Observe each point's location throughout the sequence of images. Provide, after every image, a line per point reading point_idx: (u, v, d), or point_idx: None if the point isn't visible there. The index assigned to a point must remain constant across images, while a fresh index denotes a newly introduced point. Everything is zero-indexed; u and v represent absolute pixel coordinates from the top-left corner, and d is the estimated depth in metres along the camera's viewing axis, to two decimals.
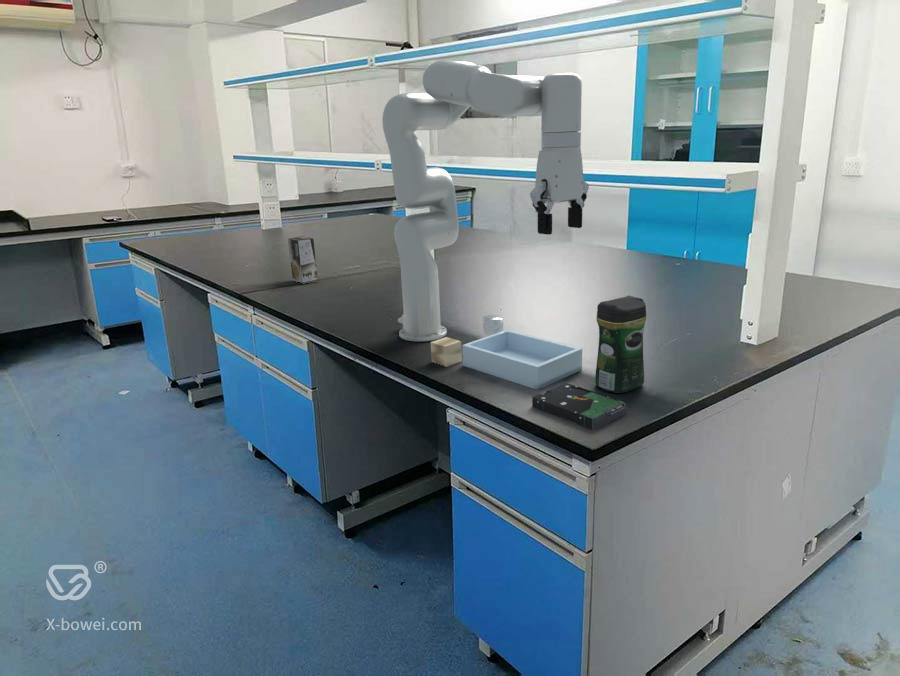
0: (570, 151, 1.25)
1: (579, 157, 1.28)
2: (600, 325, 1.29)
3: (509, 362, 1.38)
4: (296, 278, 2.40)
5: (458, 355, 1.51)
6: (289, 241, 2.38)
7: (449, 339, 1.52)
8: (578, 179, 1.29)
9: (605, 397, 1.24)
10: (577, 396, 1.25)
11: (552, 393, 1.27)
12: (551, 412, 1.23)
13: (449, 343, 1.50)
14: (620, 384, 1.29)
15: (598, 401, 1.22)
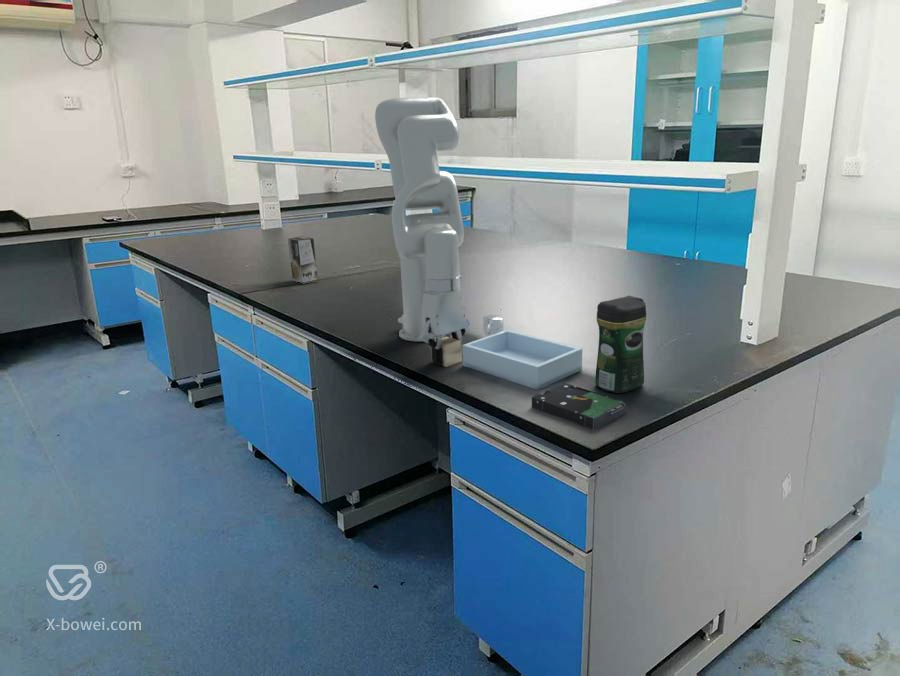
0: (450, 293, 1.46)
1: (460, 296, 1.48)
2: (600, 325, 1.29)
3: (509, 362, 1.38)
4: (296, 278, 2.40)
5: (458, 355, 1.51)
6: (289, 241, 2.38)
7: (449, 339, 1.52)
8: (460, 314, 1.49)
9: (604, 397, 1.24)
10: (577, 395, 1.25)
11: (551, 393, 1.27)
12: (551, 412, 1.23)
13: (449, 343, 1.50)
14: (620, 384, 1.29)
15: (598, 401, 1.23)
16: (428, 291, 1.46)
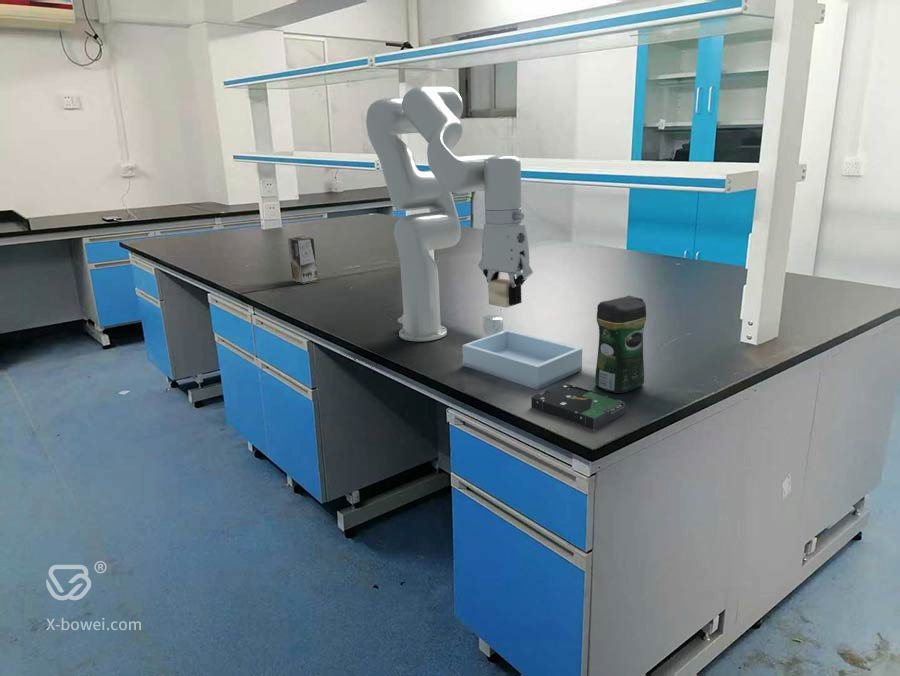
0: (494, 227, 1.35)
1: (506, 234, 1.34)
2: (600, 325, 1.29)
3: (509, 362, 1.38)
4: (296, 278, 2.40)
5: (502, 298, 1.39)
6: (289, 241, 2.38)
7: None
8: (506, 254, 1.35)
9: (604, 397, 1.24)
10: (576, 395, 1.25)
11: (551, 393, 1.27)
12: (551, 412, 1.22)
13: (498, 282, 1.39)
14: (620, 384, 1.29)
15: (598, 400, 1.23)
16: None
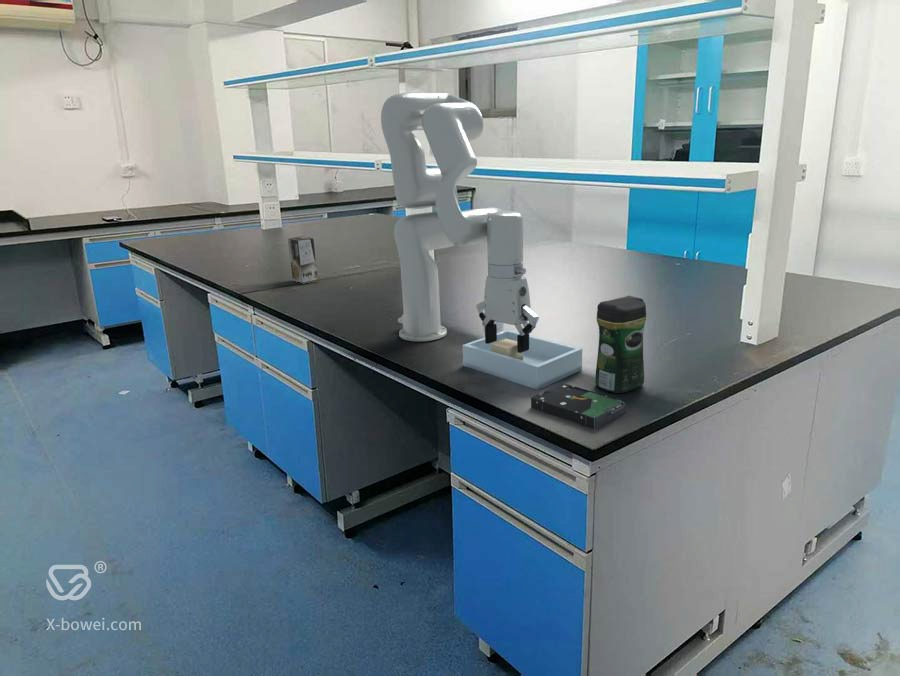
0: None
1: (509, 288, 1.37)
2: (600, 325, 1.29)
3: (509, 362, 1.38)
4: (296, 278, 2.40)
5: None
6: (289, 241, 2.38)
7: (512, 344, 1.44)
8: (508, 307, 1.38)
9: (603, 397, 1.24)
10: (576, 395, 1.25)
11: (550, 393, 1.27)
12: (551, 412, 1.22)
13: (500, 345, 1.44)
14: (620, 384, 1.29)
15: (597, 400, 1.23)
16: None
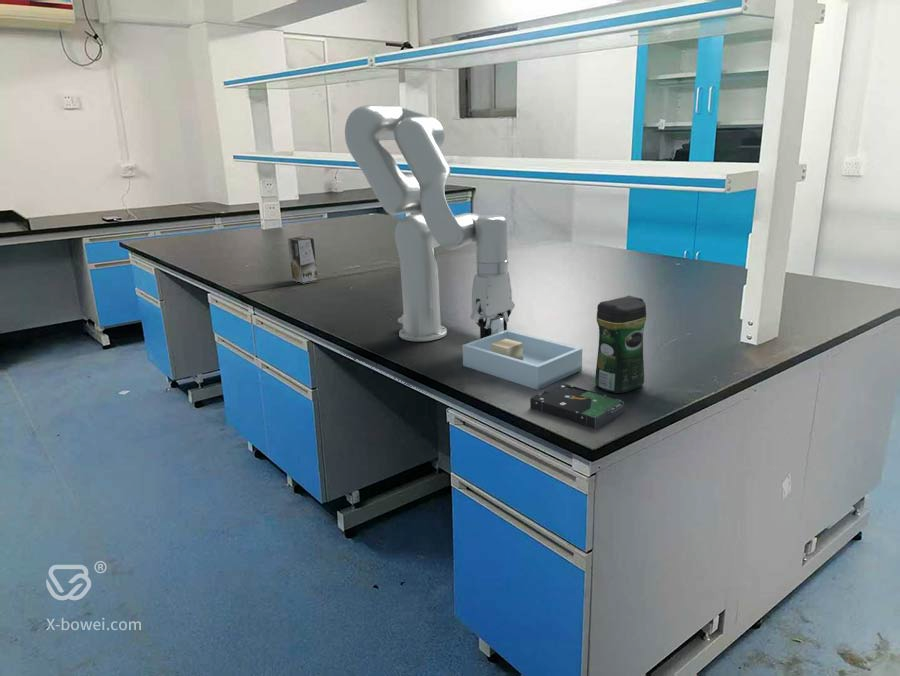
0: (499, 276, 1.56)
1: (507, 279, 1.58)
2: (600, 325, 1.29)
3: (509, 362, 1.38)
4: (296, 278, 2.40)
5: None
6: (289, 241, 2.38)
7: (512, 344, 1.44)
8: (507, 296, 1.59)
9: (602, 396, 1.24)
10: (575, 395, 1.25)
11: (549, 393, 1.27)
12: (551, 413, 1.22)
13: (500, 345, 1.44)
14: (620, 384, 1.29)
15: (597, 400, 1.23)
16: (478, 274, 1.56)
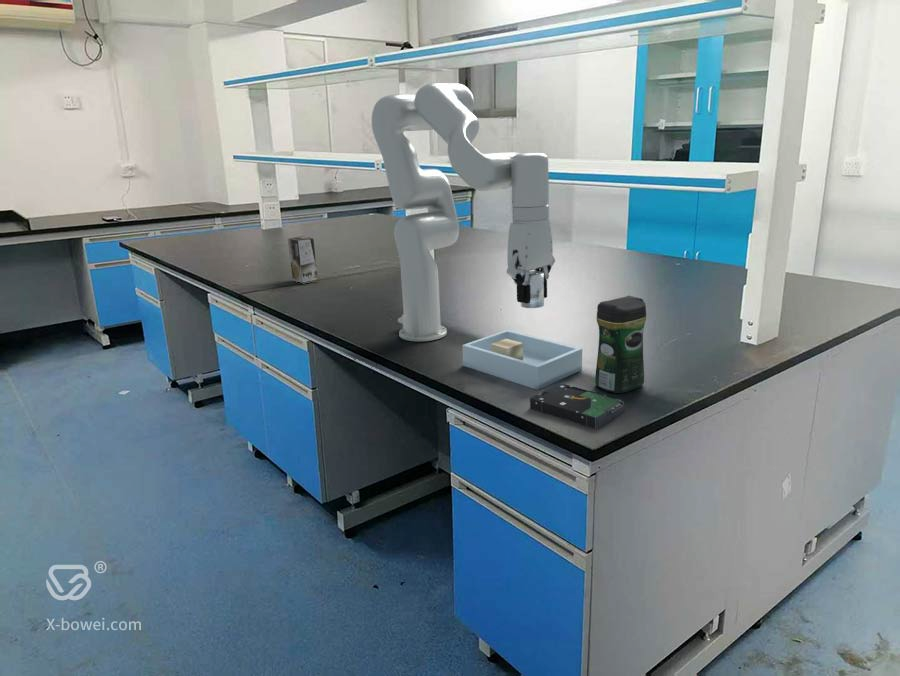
0: (539, 223, 1.34)
1: (548, 228, 1.37)
2: (600, 325, 1.29)
3: (509, 362, 1.38)
4: (296, 278, 2.40)
5: None
6: (289, 241, 2.38)
7: (512, 344, 1.44)
8: (547, 248, 1.38)
9: (602, 396, 1.25)
10: (575, 395, 1.25)
11: (549, 394, 1.27)
12: (551, 413, 1.22)
13: (500, 345, 1.44)
14: (620, 384, 1.29)
15: (596, 400, 1.23)
16: (515, 221, 1.34)
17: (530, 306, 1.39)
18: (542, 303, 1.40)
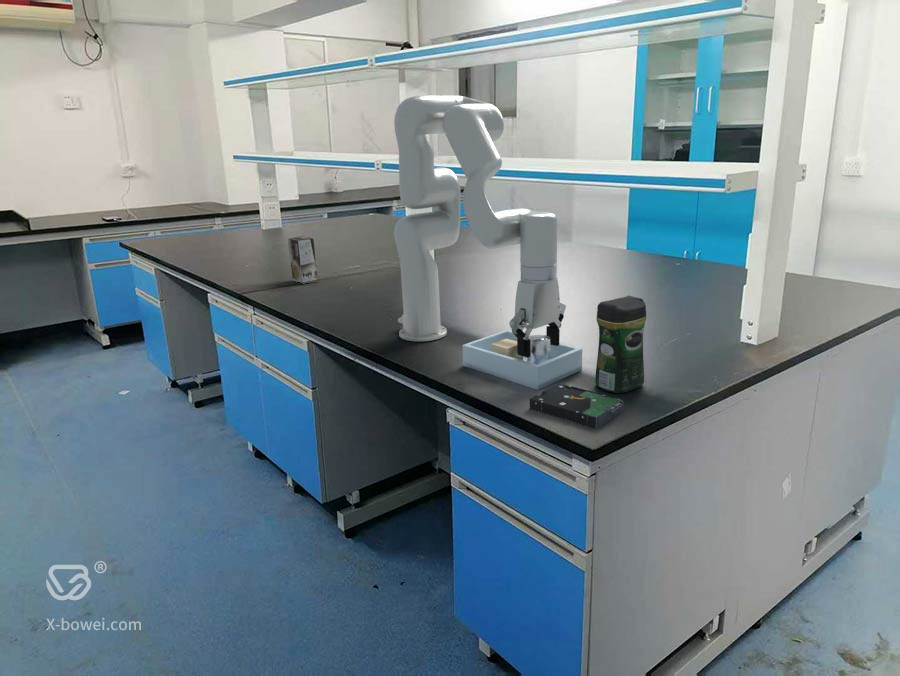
0: (547, 282, 1.35)
1: (556, 285, 1.37)
2: (600, 325, 1.29)
3: (509, 362, 1.38)
4: (296, 278, 2.40)
5: None
6: (289, 241, 2.38)
7: (512, 344, 1.44)
8: (555, 305, 1.39)
9: (601, 396, 1.25)
10: (574, 395, 1.25)
11: (548, 394, 1.27)
12: (550, 413, 1.22)
13: (500, 345, 1.44)
14: (620, 384, 1.29)
15: (596, 399, 1.23)
16: (523, 280, 1.35)
17: None
18: None
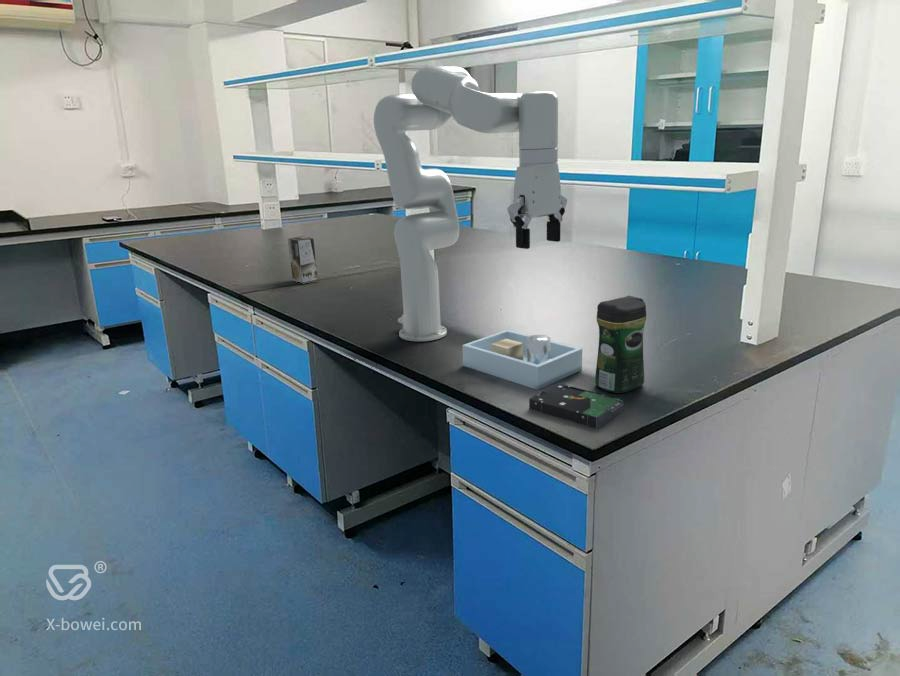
0: (547, 167, 1.28)
1: (556, 173, 1.30)
2: (600, 325, 1.29)
3: (509, 362, 1.38)
4: (296, 278, 2.40)
5: None
6: (289, 241, 2.38)
7: (512, 344, 1.44)
8: (555, 194, 1.31)
9: (601, 395, 1.25)
10: (573, 395, 1.25)
11: (548, 394, 1.26)
12: (550, 413, 1.22)
13: (500, 345, 1.44)
14: (620, 384, 1.29)
15: (596, 399, 1.23)
16: (522, 165, 1.28)
17: None
18: None
